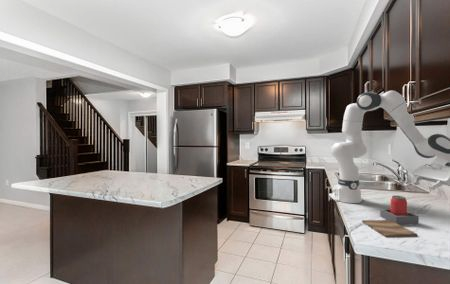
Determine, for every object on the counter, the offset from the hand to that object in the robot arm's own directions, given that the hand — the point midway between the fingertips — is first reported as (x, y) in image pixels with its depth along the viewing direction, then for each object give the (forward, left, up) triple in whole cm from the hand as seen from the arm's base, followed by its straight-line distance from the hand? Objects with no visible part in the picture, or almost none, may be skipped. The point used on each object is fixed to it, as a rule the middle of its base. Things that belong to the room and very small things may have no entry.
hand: (422, 186), depth 115 cm
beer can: (0, -12, -18) cm, 21 cm away
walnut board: (+10, -25, -17) cm, 32 cm away
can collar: (0, -12, -17) cm, 21 cm away
